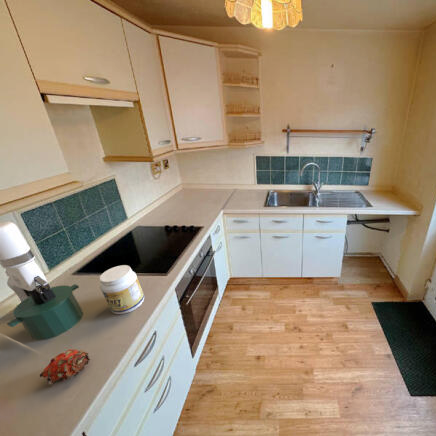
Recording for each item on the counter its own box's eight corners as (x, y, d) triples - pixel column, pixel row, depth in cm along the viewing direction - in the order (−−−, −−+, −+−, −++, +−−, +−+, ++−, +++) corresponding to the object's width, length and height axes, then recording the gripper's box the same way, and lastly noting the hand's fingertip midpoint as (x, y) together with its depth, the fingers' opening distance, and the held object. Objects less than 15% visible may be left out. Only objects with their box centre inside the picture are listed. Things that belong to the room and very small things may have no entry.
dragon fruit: (98, 368, 75) (54, 388, 71) (96, 342, 78) (53, 359, 74) (80, 371, 67) (30, 394, 64) (78, 342, 71) (30, 361, 67)
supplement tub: (104, 314, 93) (87, 282, 86) (126, 293, 104) (113, 262, 97) (131, 316, 92) (117, 284, 84) (151, 295, 103) (140, 264, 95)
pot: (14, 340, 83) (-5, 317, 78) (76, 301, 100) (63, 279, 95) (38, 352, 79) (20, 328, 73) (99, 309, 96) (87, 287, 91)
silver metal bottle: (21, 313, 94) (-7, 275, 86) (37, 301, 100) (12, 264, 92) (37, 313, 94) (11, 274, 86) (52, 301, 100) (29, 264, 92)
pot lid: (4, 313, 80) (-7, 299, 77) (57, 284, 93) (50, 271, 91) (31, 324, 75) (20, 310, 73) (83, 292, 89) (75, 279, 86)
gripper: (-14, 259, 75) (14, 298, 83) (16, 269, 70) (43, 310, 77) (17, 248, 82) (40, 285, 89) (47, 256, 77) (69, 294, 84)
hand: (41, 296), depth 83 cm, fingers open, 9 cm apart
